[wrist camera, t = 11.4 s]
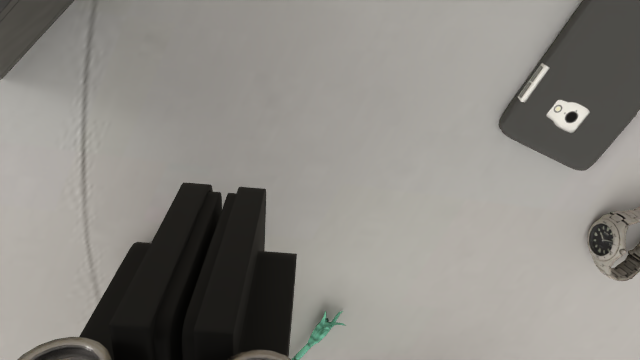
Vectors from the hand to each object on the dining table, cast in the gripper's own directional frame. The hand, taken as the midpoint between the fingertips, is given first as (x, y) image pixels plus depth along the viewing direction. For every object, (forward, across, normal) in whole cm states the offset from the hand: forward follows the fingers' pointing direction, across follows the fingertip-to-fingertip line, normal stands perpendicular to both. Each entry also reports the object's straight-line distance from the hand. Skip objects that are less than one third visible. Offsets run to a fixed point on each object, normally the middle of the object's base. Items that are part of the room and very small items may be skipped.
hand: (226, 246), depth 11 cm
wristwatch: (+23, -28, +16) cm, 40 cm away
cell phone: (+23, -20, +1) cm, 31 cm away
